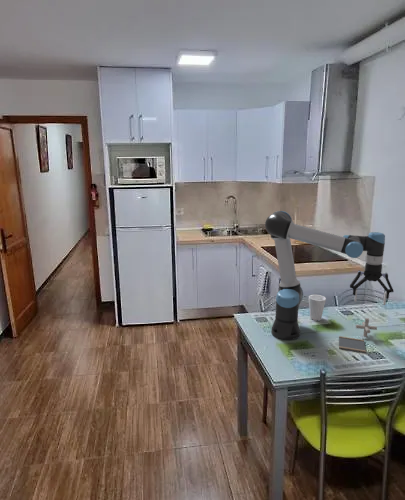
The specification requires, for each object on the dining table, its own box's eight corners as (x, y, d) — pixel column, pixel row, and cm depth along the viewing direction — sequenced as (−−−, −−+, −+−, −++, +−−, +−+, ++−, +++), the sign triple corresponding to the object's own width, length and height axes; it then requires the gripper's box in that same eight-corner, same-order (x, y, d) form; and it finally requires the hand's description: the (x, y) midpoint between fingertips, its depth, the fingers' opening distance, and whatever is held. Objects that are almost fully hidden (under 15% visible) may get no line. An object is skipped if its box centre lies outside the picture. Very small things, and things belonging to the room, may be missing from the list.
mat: (338, 348, 175) (339, 346, 174) (339, 337, 186) (339, 336, 185) (365, 353, 171) (365, 351, 170) (363, 341, 181) (364, 339, 181)
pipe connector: (377, 341, 182) (380, 323, 179) (357, 339, 184) (359, 321, 181) (372, 332, 191) (374, 315, 189) (353, 330, 193) (355, 313, 191)
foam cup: (326, 321, 204) (328, 300, 201) (310, 321, 205) (311, 300, 201) (320, 314, 214) (322, 294, 211) (305, 314, 214) (307, 294, 211)
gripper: (347, 262, 179) (343, 302, 184) (403, 267, 170) (397, 308, 175) (347, 259, 186) (343, 297, 191) (400, 263, 177) (395, 303, 182)
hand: (369, 302), depth 183 cm, fingers open, 13 cm apart
